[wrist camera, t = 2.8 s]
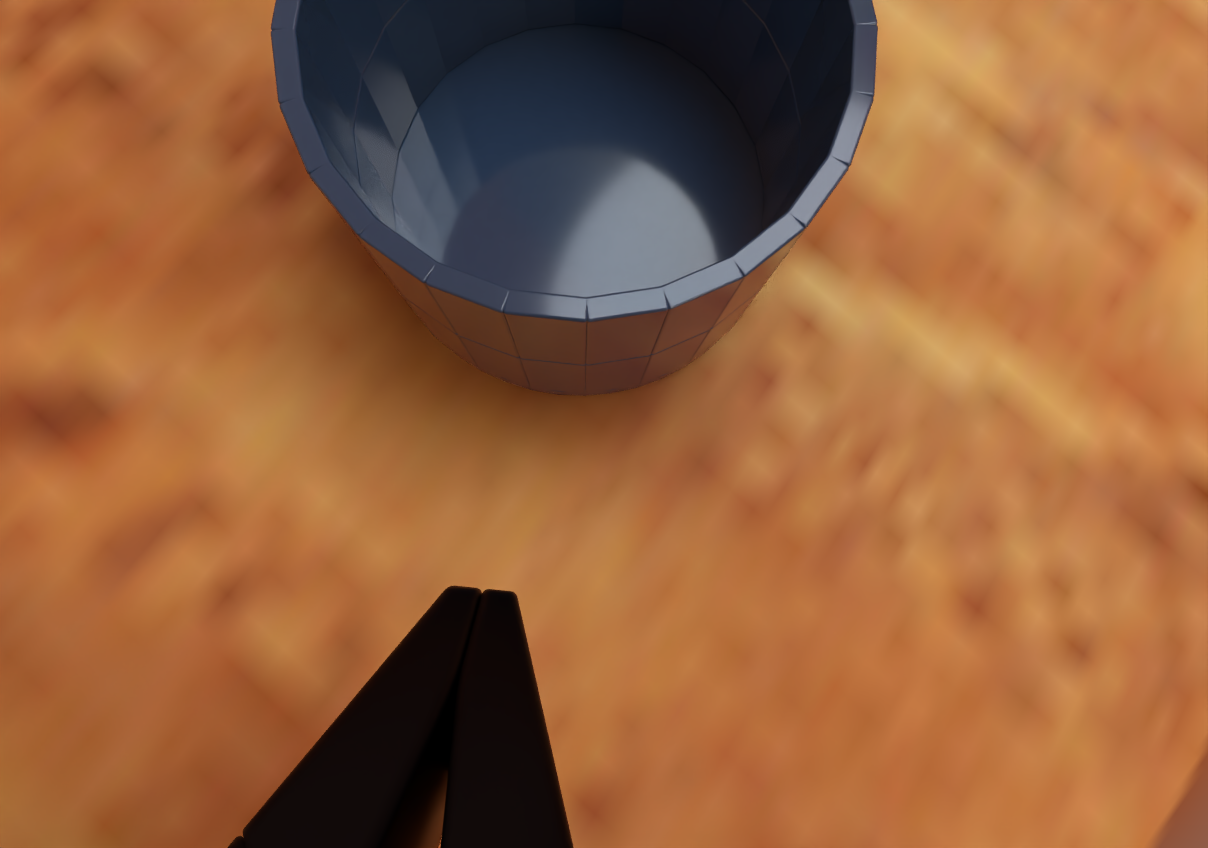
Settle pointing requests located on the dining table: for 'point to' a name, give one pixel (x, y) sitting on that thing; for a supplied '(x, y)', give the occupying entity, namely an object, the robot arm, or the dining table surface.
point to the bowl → (576, 163)
